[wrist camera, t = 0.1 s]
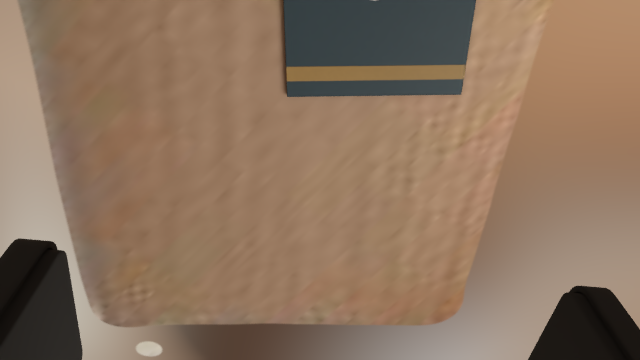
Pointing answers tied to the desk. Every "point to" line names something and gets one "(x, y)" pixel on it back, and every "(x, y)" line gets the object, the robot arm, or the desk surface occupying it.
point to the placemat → (376, 47)
